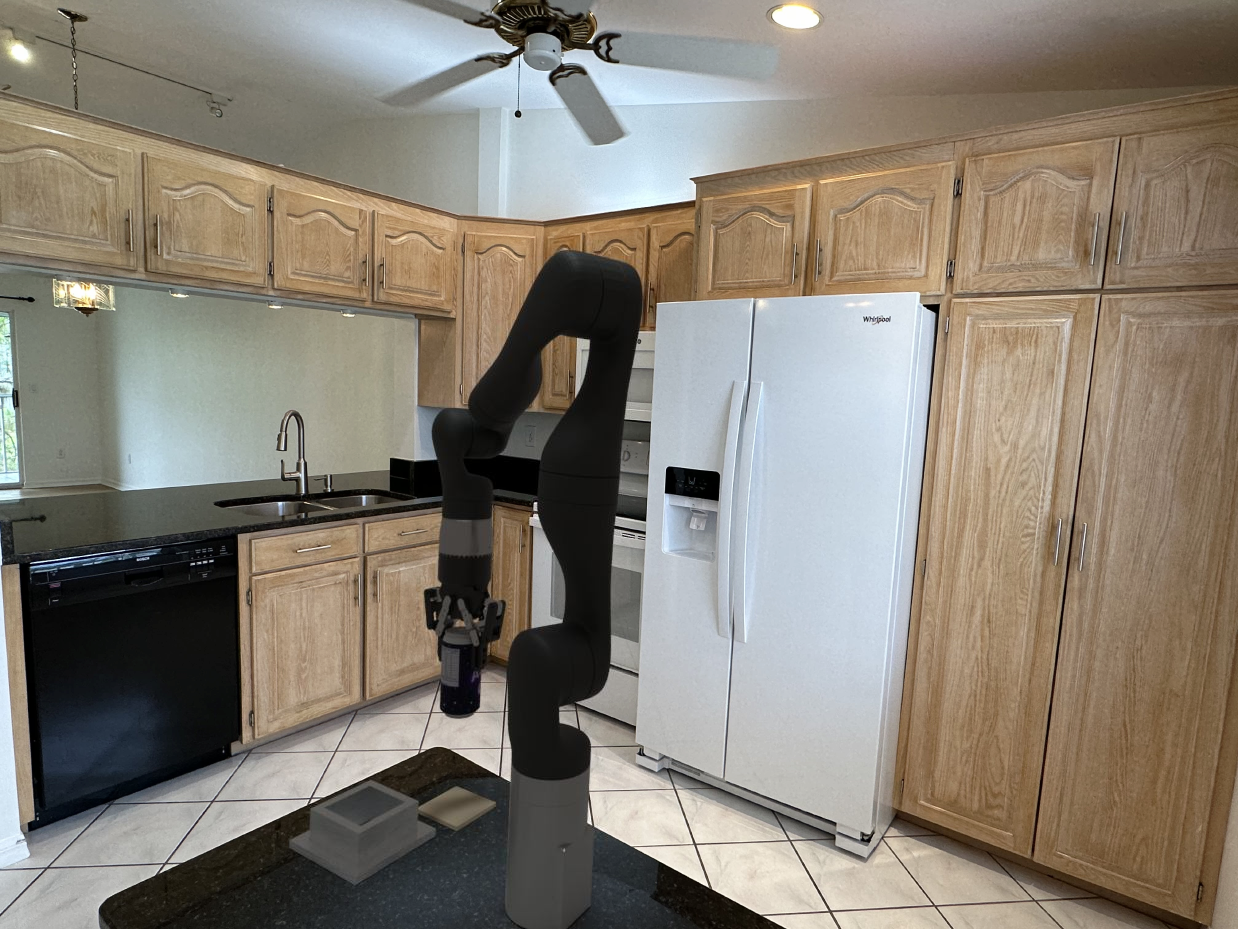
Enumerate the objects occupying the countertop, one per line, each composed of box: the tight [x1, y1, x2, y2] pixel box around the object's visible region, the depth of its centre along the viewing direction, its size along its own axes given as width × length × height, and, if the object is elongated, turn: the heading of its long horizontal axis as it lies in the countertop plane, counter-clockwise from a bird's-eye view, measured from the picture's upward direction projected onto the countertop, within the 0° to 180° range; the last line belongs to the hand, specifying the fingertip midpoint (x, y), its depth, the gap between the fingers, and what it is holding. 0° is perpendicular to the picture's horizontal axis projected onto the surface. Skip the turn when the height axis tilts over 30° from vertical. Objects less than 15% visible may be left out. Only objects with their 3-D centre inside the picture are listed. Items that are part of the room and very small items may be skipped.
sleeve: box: [288, 779, 437, 886], centre depth 94 cm, size 13×13×5 cm
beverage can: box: [439, 625, 482, 720], centre depth 102 cm, size 6×6×12 cm
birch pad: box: [418, 785, 497, 832], centre depth 103 cm, size 8×8×1 cm
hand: (461, 664), depth 102 cm, fingers closed on beverage can, 5 cm apart
